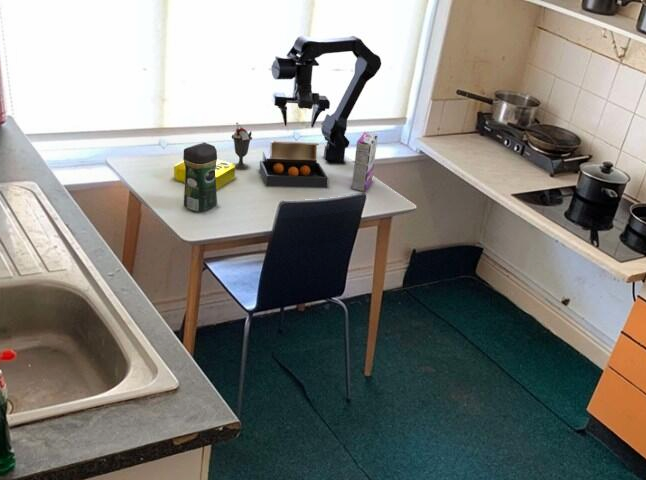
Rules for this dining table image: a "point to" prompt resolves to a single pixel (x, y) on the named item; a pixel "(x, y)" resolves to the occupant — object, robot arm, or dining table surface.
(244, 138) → the sundae
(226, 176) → the yellow flat box
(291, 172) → the orange ball
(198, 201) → the coffee jar
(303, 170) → the orange ball
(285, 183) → the dark grey tray
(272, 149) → the wooden box
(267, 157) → the stand
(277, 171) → the orange ball
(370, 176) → the candy bar box
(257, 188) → the dining table surface
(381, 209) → the dining table surface
